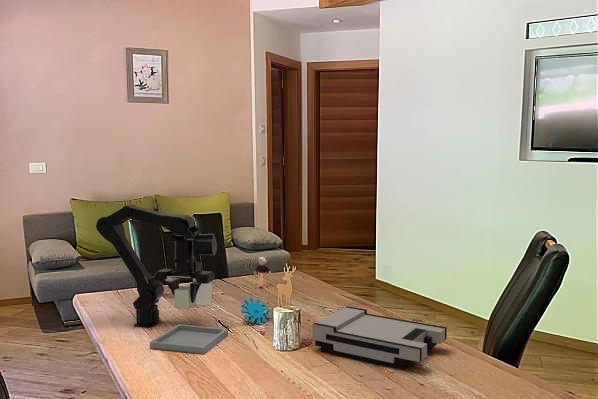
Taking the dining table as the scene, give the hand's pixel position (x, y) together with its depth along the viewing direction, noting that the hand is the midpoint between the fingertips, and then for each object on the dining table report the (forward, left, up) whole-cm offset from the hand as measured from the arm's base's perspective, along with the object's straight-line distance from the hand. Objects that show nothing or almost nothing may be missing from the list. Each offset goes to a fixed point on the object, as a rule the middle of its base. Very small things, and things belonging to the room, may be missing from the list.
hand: (185, 302), depth 188 cm
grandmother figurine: (+7, +53, -8) cm, 54 cm away
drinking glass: (-6, +25, -8) cm, 27 cm away
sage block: (0, 0, -2) cm, 2 cm away
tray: (+8, -14, -8) cm, 18 cm away
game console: (+64, -5, -8) cm, 65 cm away
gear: (+21, +10, -8) cm, 24 cm away
